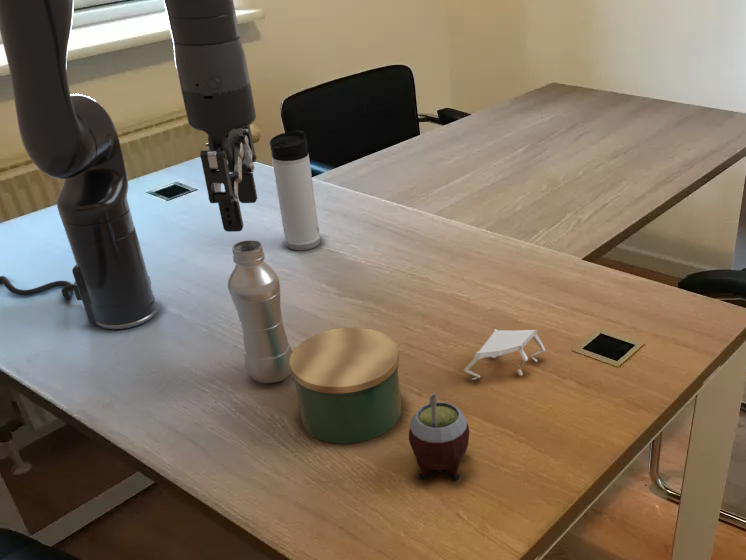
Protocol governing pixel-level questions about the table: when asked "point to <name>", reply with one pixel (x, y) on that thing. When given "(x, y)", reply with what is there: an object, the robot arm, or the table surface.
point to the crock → (347, 384)
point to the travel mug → (295, 190)
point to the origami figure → (506, 346)
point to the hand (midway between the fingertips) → (241, 215)
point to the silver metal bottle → (259, 313)
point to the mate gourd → (438, 438)
